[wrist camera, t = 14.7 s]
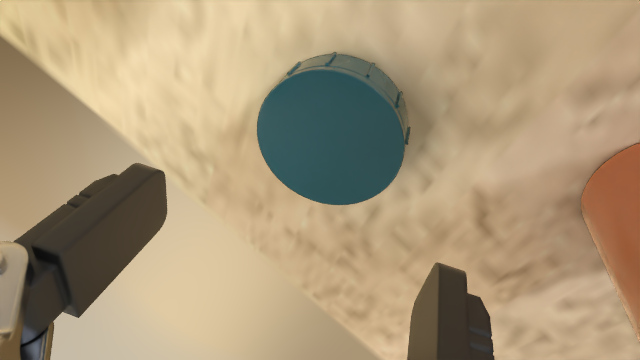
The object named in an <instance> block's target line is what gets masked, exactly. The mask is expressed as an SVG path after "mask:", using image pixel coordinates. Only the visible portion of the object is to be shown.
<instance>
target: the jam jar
mask: <svg viewBox="0 0 640 360" xmlns="http://www.w3.org/2000/svg"><path fill="white" fill-rule="evenodd" d="M581 212H582V215H583V219H584V221H585V223H586V225H587V228H588V230H589V232H590V234H591V236H592V239H593V241H594V243H595V245H596V248H597V250H598V252H599V254H600V256H601V259H602V261H603V263H604V265H605V267H606V270H607V272H608V274H609V276H610V278H611V281H612V283H613V285H614V287H615V290H616V292H617V294H618V296H619V298H620V301H621V303H622V305H623V307H624V309H625V312H626V314H627V316H628V318H629V320H630V323H631V325H632V327H633V329H634V332H635V334H636V336H637V338H638V340H639V343H640V143H638V144H635V145H633V146H631V147H629V148H627V149H625V150H623V151H621V152H619V153H618V154H616V155H614V156H613V157H612V158H610V159H609V160H608V161H606V162H605V163H604V164H603V165H602V166H601V167H599V168H598V169H597V171H596V172H595V173H594V174H593V175H592V177H591V178H590V180H589V181H588V183H587V185H586V187H585V189H584V191H583V195H582V198H581Z"/></svg>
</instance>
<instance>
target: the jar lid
mask: <svg viewBox="0 0 640 360" xmlns="http://www.w3.org/2000/svg"><path fill="white" fill-rule="evenodd" d="M402 94H403V93H402V91H401V92H399V90H398V89H397V87H396V86H395V84H394V83H393V82H392V81H391V79H390V78H389V77H388V76H387V75H386V74H384V73H383V72H382V71H381V70H380V69H378V68H377V67H375V64H374V63H372V64H370V63H368V62H366V61H364V60H361V59H359V58H356V57H352V56H347V55H340V54H336V52H333V54H330V55H322V56H317V57H314V58H311V59H308V60H306V61H304V62H302V63H300V62H298V63H297V64H296V65H295V66H294V67H293V68H292V69H291V70H290V71H289V72H288V73H287V75H286V76H285V77H284V78H283V79H282V80H281V81H280V82H279V83H278V84H277V85H276V86H275V87H274V88H273V89H272V90H271V92H270V93H269V94H268V96H267V97H266V98H265V100H264V102H263V104H262V106H261V109H260V112H259V116H258V121H257V136H258V142H259V146H260V150H261V152H262V155H263V157H264V159H265V161H266V163H267V165H268V166H269V168H270V169H271V171H272V172H273V173H274V174H275V176H276V177H277V178H278V179H279V180H280V181H281V182H282V183H283V184H285V185H286V186H287V187H288V188H290V189H291V190H293V191H294V192H296V193H297V194H299V195H301V196H303V197H305V198H308V199H310V200H313V201H316V202H320V203H324V204H330V205H349V204H355V203H359V202H362V201H365V200H368V199H370V198H372V197H374V196H376V195H377V194H379V193H380V192H382V191H383V190H384V189H385V188H387V187H388V185H389V184H390V183H391V182H392V181H393V180H394V178H395V177H396V175H397V173H398V171H399V169H400V167H401V164H402V161H403V157H404V151H405V145H406V144H407V145H408V140H409V134H410V127H408V114H407V109H406V106H405V102H404V100H403V98H402Z"/></svg>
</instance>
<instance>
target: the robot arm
mask: <svg viewBox="0 0 640 360" xmlns="http://www.w3.org/2000/svg"><path fill="white" fill-rule="evenodd" d="M165 182H166V181H165V174H164V172H163V171H161V170H158V169H155V168H152V167H149V166H146V165H143V164H140V163H135V164H133V165H131V166H130V167H129V168H127V169H126V170H125V171H124V172H122V173H121V174H120V175H116V174H112V175H110V176H107V177H104V178H102V179H99V180H97V181H94V182H93V183H92V184H90V185H89V186H88V187H87V188H85V189H84V190H82V191H81V192H80V193H79V195H76V196H74V197H73V198H72V199H70V200H69V201H68V202H67V204H66V205H65V204H64V205H62V206H61V207H60V208H58V209H57V210H56V211H54V212H53V213H52V214H50V215H49V216H48V217H46V218H45V219H44V220H42V221H41V222H40V223H38V224H37V225H36V226H34V227H33V228H32V229H30V230H29V231H27V232H26V233H25V234H23V235H22V236H21V237H20V238H18V239H17V240H15V241H14V242H9V241H0V360H50V356H51V348H52V340H53V331H54V323H53V321H54V320H55V319H56V318H57V317H58V316H59V315H60V314H61V313H62V312H64V313H67V314H70V315H72V316H75V317H78V318H79V317H80V316H81V315H82V314H83V313H84V312H85V310H86V309H87V308H88V307H89V306H90V305H91V304H92V303H93V302H94V301H95V300H96V299H97V297H98V296H99V295H100V294H101V293H102V292H103V291H104V290H105V289H106V288H107V286H108V285H109V284H110V283H111V282H112V281H113V280H114V279H115V278H116V277H117V276H118V275H119V273H120V272H121V271H122V270H123V269H124V268H125V267H126V266H127V265H128V264H129V263H130V262H131V260H132V259H133V258H134V257H135V256H136V255H137V254H138V253H139V252H140V251H141V250H142V249H143V247H144V246H145V245H146V244H147V243H148V242H149V241H150V240H151V239H152V238H153V236H154V235H155V234H156V233H157V232H158V231H159V230H160V228H161V227H162V225H163V224H164V221H165V219H166V215H167V199H166V183H165ZM491 336H492V332H491V323H490V316H489V314H488V312H487V310H486V308H485V306H484V304H483V302H482V300H481V298H480V297H477V296H474V295H471V294H468V293H467V278H466V273H465V271H462V270H459V269H456V268H453V267H450V266H447V265H444V264H441V263H438V262H437V263H435V265H434V266H433V268H432V270H431V272H430V273H429V275H428V277H427V279H426V281H425V283H424V285H423V287H422V288H421V290H420V292H419V294H418V296H417V298H416V300H415V303H414V307H413V310H412V315H411V324H410V335H409V346H408V357H407V360H494V356H493V352H494V351H493V342H492V339H491Z"/></svg>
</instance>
